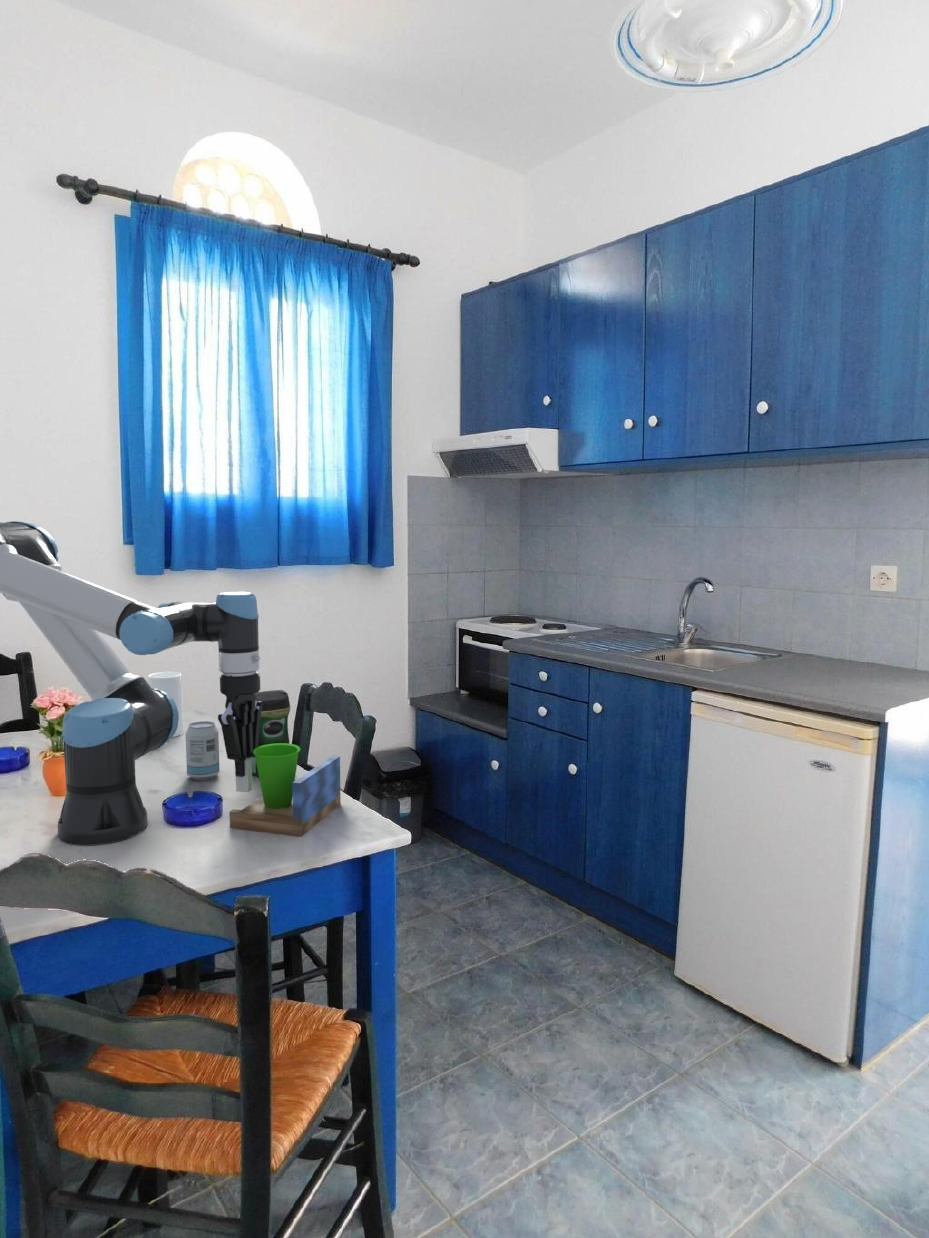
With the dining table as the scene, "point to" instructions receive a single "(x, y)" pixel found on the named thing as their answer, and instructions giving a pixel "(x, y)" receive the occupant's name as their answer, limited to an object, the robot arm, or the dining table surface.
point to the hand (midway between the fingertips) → (244, 790)
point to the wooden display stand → (296, 804)
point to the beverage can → (202, 750)
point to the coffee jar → (272, 720)
